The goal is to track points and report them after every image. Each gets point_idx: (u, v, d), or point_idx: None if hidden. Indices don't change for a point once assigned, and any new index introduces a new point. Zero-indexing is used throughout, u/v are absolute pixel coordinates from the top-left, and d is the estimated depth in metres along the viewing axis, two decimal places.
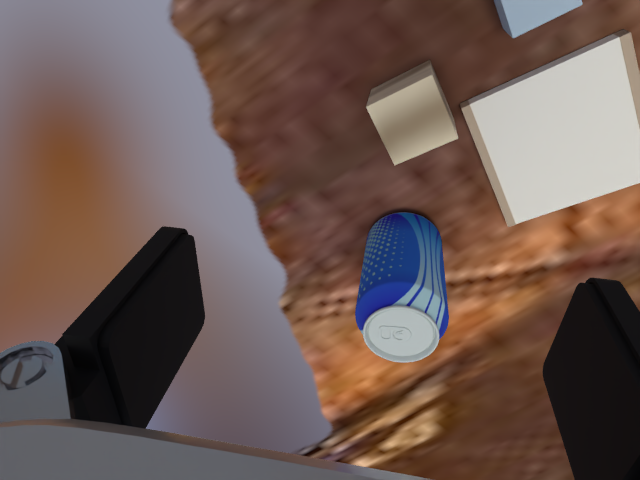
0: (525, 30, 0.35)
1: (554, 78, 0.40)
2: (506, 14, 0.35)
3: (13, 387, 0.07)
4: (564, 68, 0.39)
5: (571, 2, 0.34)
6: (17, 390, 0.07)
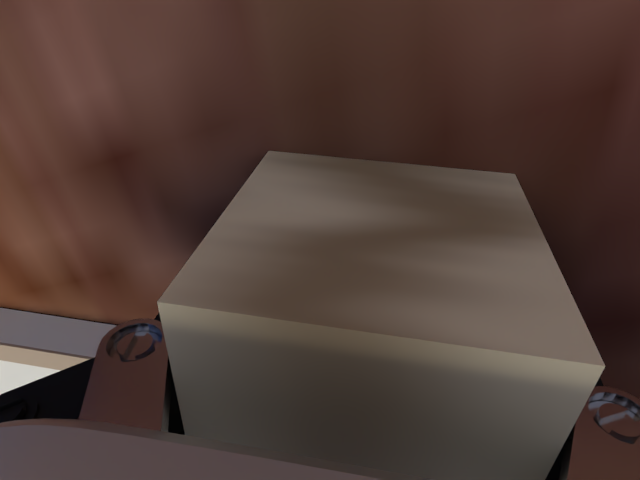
0: None
1: None
2: None
3: (125, 358, 0.08)
4: None
5: None
6: (127, 363, 0.08)
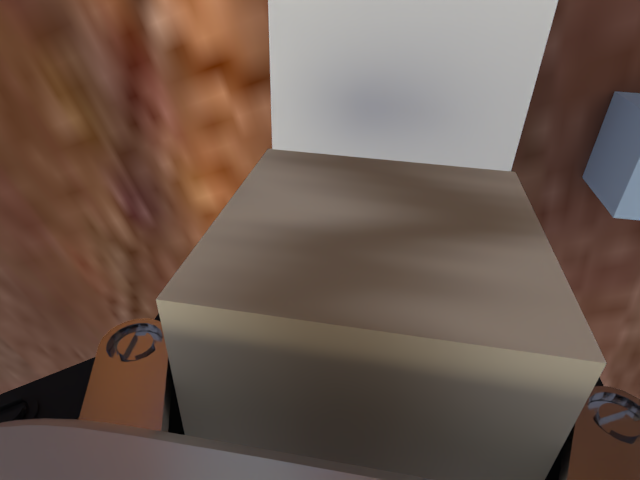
0: None
1: (500, 136, 0.25)
2: None
3: (125, 358, 0.08)
4: (505, 153, 0.25)
5: (628, 207, 0.22)
6: (127, 363, 0.08)
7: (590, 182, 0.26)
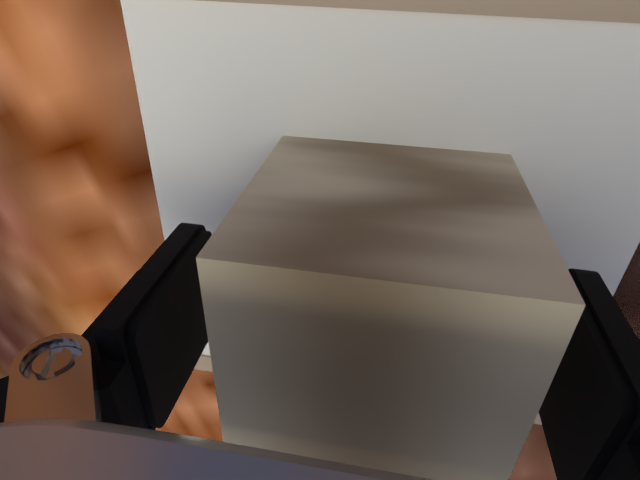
0: None
1: None
2: None
3: (43, 377, 0.07)
4: None
5: None
6: (46, 380, 0.07)
7: None
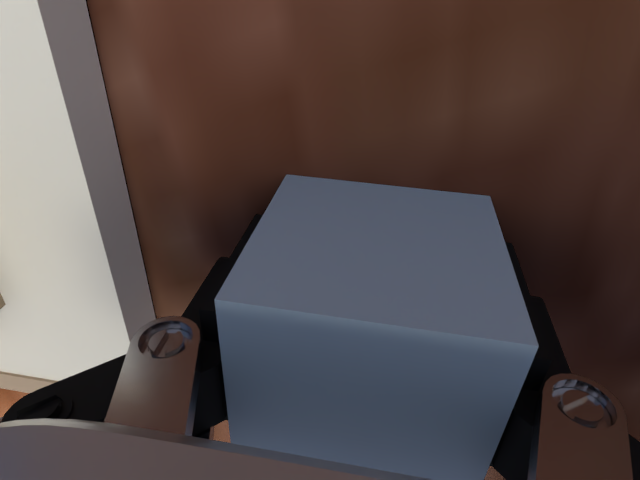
0: (226, 343, 0.08)
1: (74, 261, 0.12)
2: (329, 318, 0.07)
3: (155, 355, 0.08)
4: (97, 290, 0.13)
5: None
6: (157, 359, 0.08)
7: None
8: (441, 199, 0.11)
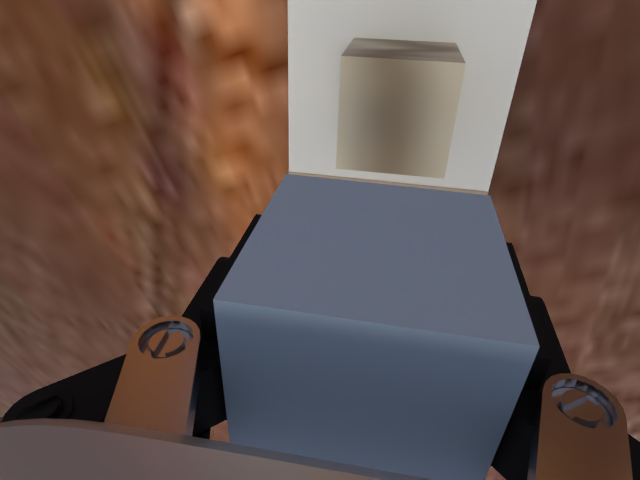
0: (225, 343, 0.08)
1: (490, 114, 0.28)
2: (328, 318, 0.07)
3: (155, 355, 0.08)
4: (494, 129, 0.29)
5: None
6: (157, 359, 0.08)
7: None
8: (441, 199, 0.11)
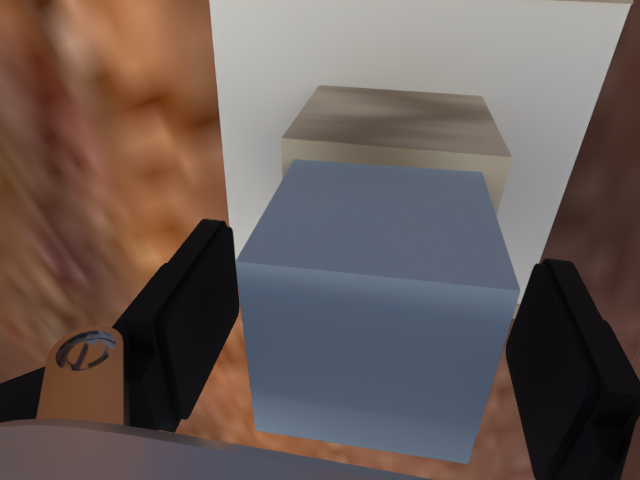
0: (246, 302, 0.09)
1: (533, 201, 0.18)
2: (336, 273, 0.08)
3: (77, 368, 0.08)
4: (538, 222, 0.19)
5: (273, 417, 0.11)
6: (80, 372, 0.07)
7: None
8: (437, 176, 0.12)
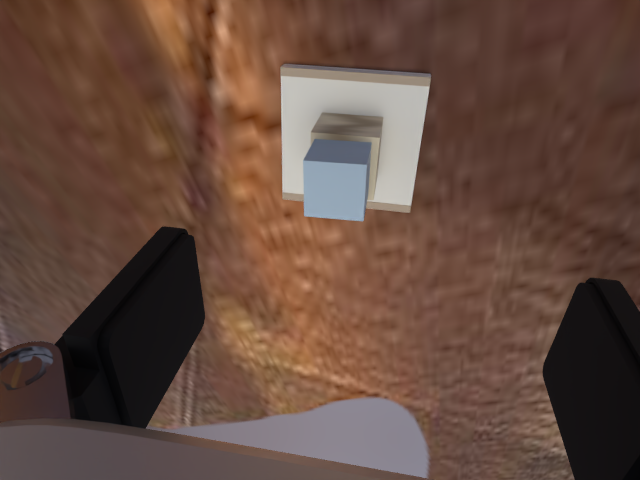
0: (305, 172, 0.36)
1: (408, 158, 0.45)
2: (326, 162, 0.35)
3: (13, 387, 0.07)
4: (411, 167, 0.46)
5: (309, 210, 0.38)
6: (17, 390, 0.07)
7: None
8: (357, 143, 0.39)
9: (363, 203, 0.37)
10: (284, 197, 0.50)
